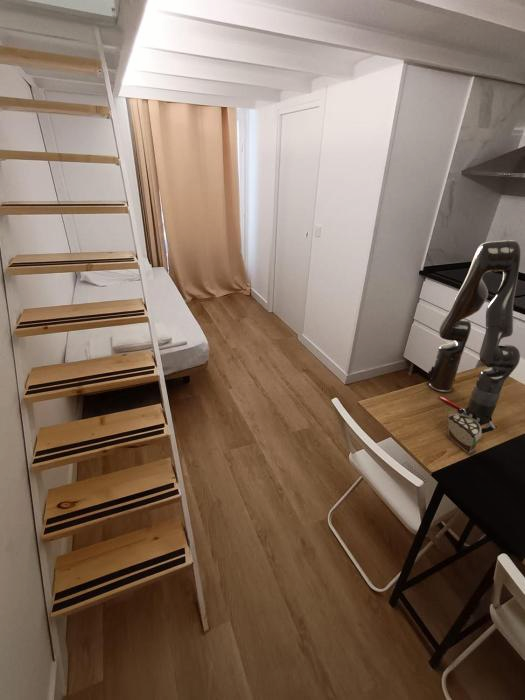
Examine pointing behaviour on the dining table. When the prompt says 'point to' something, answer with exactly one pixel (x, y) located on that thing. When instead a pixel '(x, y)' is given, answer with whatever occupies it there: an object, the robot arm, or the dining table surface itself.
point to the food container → (464, 431)
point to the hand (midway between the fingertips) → (469, 437)
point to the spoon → (450, 403)
